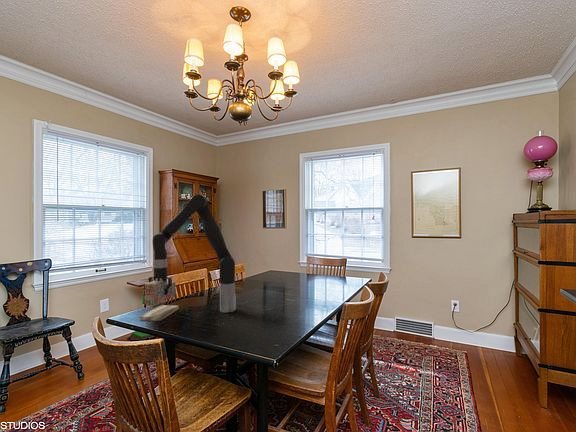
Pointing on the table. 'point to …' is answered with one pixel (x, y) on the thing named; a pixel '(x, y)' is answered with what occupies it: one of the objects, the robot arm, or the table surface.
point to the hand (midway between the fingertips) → (160, 294)
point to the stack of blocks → (158, 292)
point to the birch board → (159, 313)
